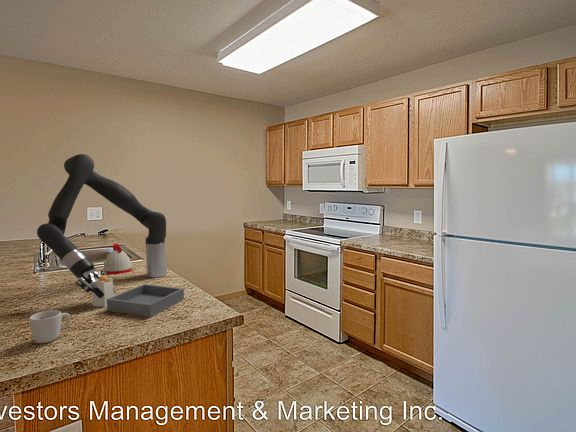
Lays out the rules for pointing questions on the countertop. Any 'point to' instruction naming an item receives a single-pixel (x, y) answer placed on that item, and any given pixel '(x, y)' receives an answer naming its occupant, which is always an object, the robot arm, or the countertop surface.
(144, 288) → the tray
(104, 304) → the open white crate
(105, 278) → the ball
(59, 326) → the cup
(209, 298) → the countertop surface
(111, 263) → the cream and red dome
